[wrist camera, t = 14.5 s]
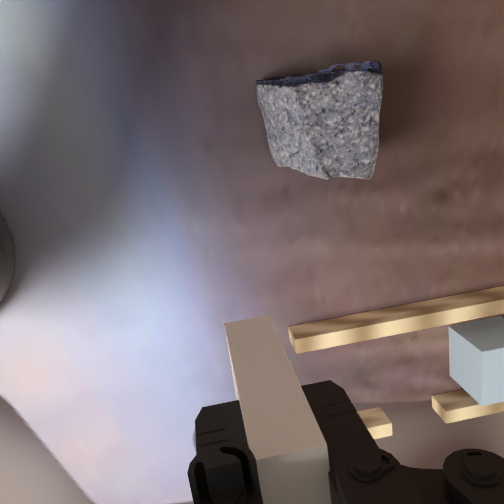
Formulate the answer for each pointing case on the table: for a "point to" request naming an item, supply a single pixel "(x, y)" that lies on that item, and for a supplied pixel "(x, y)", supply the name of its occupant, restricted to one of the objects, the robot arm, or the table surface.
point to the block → (479, 358)
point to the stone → (324, 120)
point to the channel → (403, 321)
